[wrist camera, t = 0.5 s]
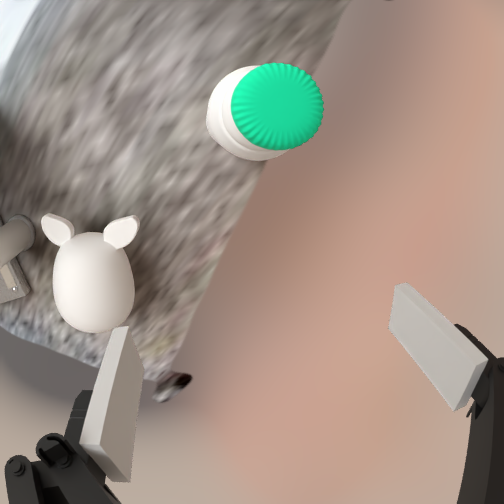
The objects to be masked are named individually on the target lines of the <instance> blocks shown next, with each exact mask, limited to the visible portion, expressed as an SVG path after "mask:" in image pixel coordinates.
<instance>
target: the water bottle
mask: <svg viewBox="0 0 504 504" xmlns="http://www.w3.org/2000/svg"><path fill="white" fill-rule="evenodd" d="M319 90H320V89H319V87H317V86H316V82H315V81H314V80H312V77H311V76H310V75H308V74H306V72H305V71H304V70H300V69H299V68H298V67H294V66H292V65H290V64H284V63H271V64H264V65H261V66H248V67H243V68H240V69H238V70H235V71H233V72H231V73H230V74H228V75H227V76H226V77H224V78H223V79H222V80H221V81H220V82H219V83H218V85H217V86H216V87H215V89H214V91H213V93H212V95H211V97H210V100H209V104H208V112H207V117H206V124H207V129H208V131H209V134H210V135H211V137H212V138H213V139H214V140H215V141H216V142H217V143H219V144H220V145H221V146H222V147H223V148H224V149H226V150H227V151H228V152H230V153H231V154H233V155H235V156H237V157H240V158H243V159H246V160H252V161H263V160H269V159H273V158H276V157H278V156H280V155H282V154H284V153H286V152H287V151H288V150H290V149H293V148H295V147H297V146H300V145H302V144H303V143H305V142H307V141H308V140H309V139H310V138H312V137H313V136H314V134H315V133H316V132H317V131H318V127H319V126H320V125H321V120H322V118H323V115H322V113H323V111H324V108H323V104H324V102H323V101H322V94H321V93H320V91H319Z"/></svg>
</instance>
